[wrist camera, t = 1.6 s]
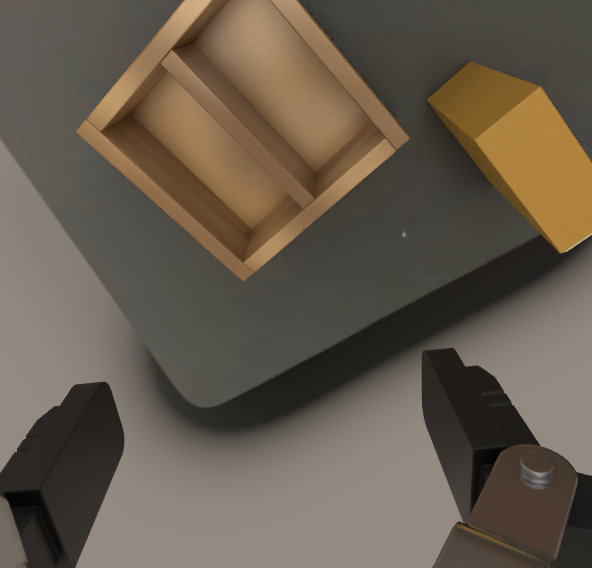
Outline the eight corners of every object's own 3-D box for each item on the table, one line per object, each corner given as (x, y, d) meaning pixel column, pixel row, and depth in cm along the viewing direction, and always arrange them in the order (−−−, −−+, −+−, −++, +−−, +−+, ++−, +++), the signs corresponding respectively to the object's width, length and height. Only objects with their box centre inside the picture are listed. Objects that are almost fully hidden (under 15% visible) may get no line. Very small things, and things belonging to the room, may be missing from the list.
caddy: (253, -56, 29) (240, -69, 23) (395, 117, 33) (410, 138, 28) (112, 111, 33) (75, 131, 28) (252, 243, 38) (243, 282, 32)
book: (470, 60, 31) (540, 85, 22) (537, 154, 34) (627, 214, 24) (425, 100, 32) (473, 140, 23) (494, 187, 35) (563, 257, 26)
